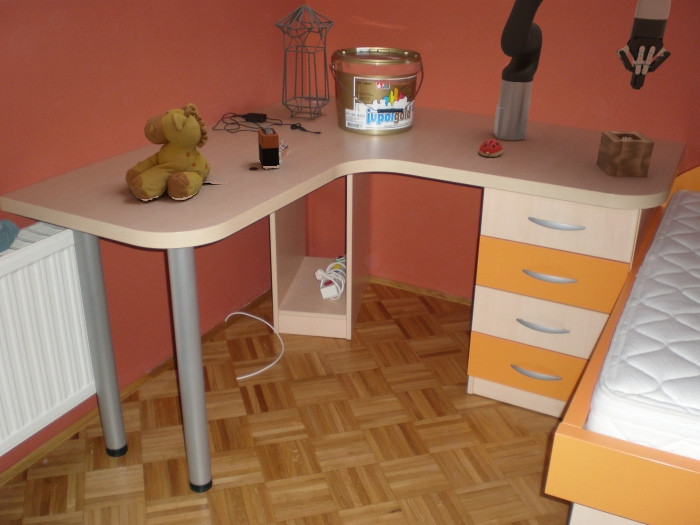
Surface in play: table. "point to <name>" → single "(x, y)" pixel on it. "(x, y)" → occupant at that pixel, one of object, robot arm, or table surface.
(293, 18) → the geometric lantern
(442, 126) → the table surface
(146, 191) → the giraffe plush
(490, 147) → the ladybug figurine
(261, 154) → the battery
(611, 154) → the socket block
